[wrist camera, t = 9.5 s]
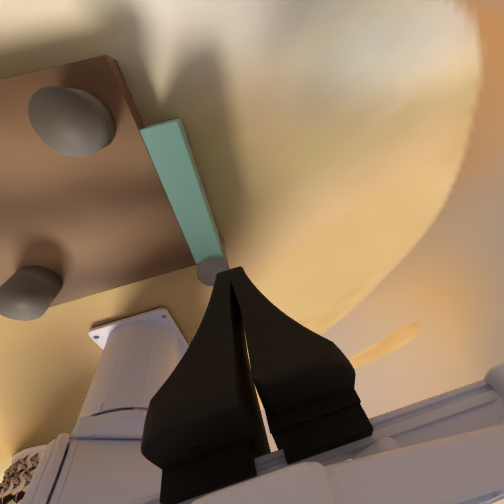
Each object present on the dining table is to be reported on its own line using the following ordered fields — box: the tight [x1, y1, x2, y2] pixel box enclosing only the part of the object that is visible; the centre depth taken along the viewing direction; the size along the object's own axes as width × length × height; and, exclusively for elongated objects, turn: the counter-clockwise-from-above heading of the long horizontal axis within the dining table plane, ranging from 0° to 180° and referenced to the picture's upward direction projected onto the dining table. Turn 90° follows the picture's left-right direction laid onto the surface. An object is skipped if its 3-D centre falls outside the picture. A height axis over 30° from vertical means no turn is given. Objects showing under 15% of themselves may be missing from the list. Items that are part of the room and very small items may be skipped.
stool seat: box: [0, 55, 196, 321], centre depth 15 cm, size 14×14×4 cm
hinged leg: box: [139, 117, 229, 286], centre depth 17 cm, size 11×2×4 cm, turn 11°
